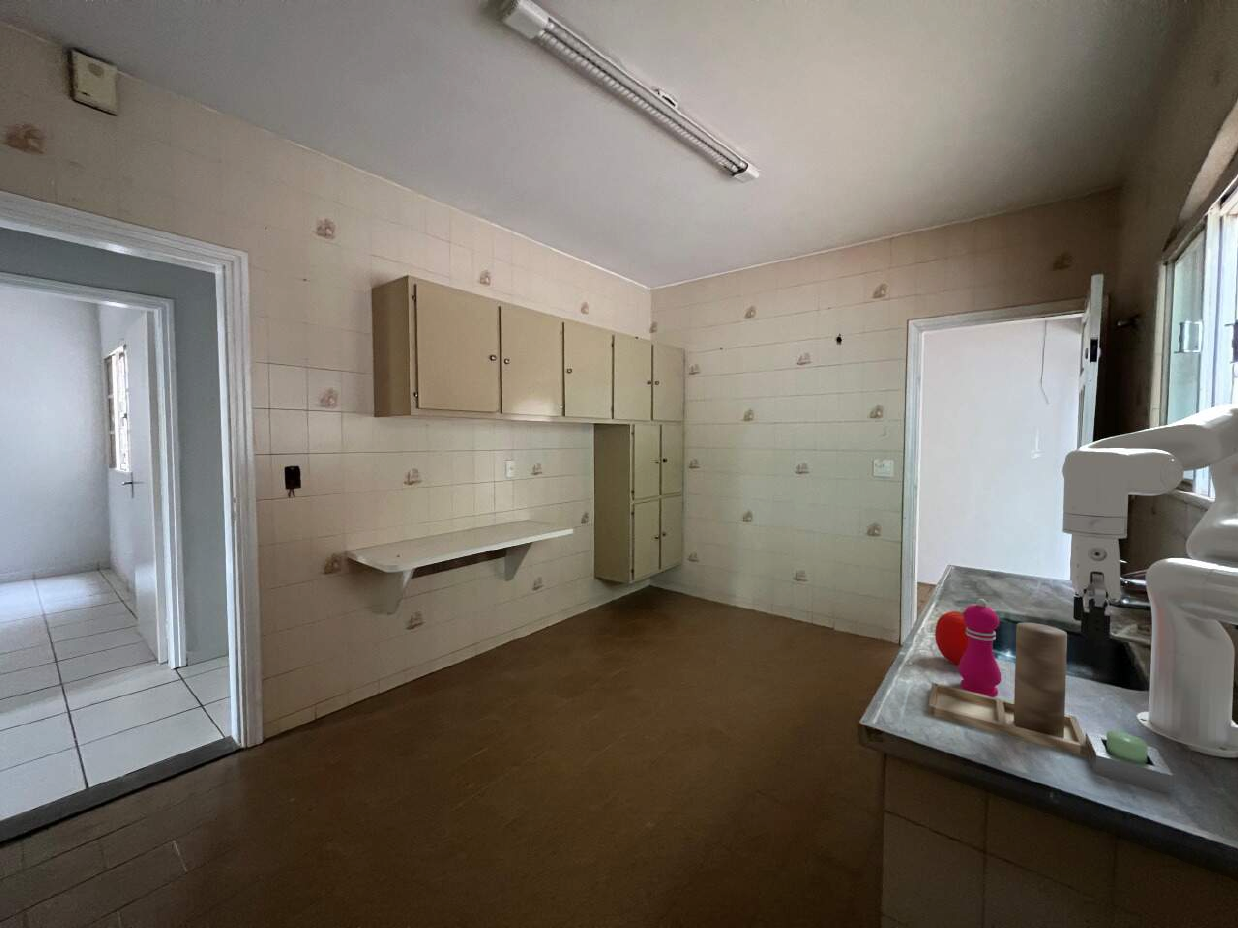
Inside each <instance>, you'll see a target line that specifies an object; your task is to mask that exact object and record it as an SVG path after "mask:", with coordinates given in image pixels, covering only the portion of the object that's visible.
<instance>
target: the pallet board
mask: <svg viewBox="0 0 1238 928" xmlns="http://www.w3.org/2000/svg"><path fill="white" fill-rule="evenodd" d="M928 715H931V716H934V717H938V718H941V719H946V720H949V721H952V722H957V723H961V724H964V725H967V726H972V727H974V728H979V729H982V730H986V731H989V732H993V733H998V734H1002V735H1005V736H1008V737H1012V738H1015V739H1020V740H1024V741H1026V742H1031V743H1034V744H1038V745H1042V746H1046V747H1049V748H1053V749H1057V750H1061V751H1064V752H1067V753H1071V754H1074V755H1078V756H1083V757H1085V758H1089V747H1088V744H1087V742H1086V736H1085V735H1084V732H1083V730H1082V728H1081V725H1080V723H1079V721H1078V718H1077V716H1074V715H1069V714H1065V713H1064V737H1063V738H1059V737H1055V736H1051V735H1047V734H1044V733H1040V732H1036V731H1032V730H1028V729H1024V728H1021V727H1017V726H1015V724H1014V701H1011V700H1008V699H1007V700H1006V699H1002V698H998V697H996V696H995V697H990V696H986V695H982V694H978V693H974V692H969V691H966V690H965V689H960V688H957V687H953V686H947V685H943V684H941V683H940V684H939V683H935V682H931V688H930V696H929V702H928Z"/></svg>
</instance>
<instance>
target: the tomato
mask: <svg viewBox="0 0 1238 928" xmlns="http://www.w3.org/2000/svg"><path fill="white" fill-rule="evenodd" d="M963 615H964V611H959V610H952V611H948V612H945V613H944V614H942V615H941V616H940V617H939V618H938V620H937V622H936V626H935V632H934V633H935V635H934V637H935V643H936V645H937V648H938V650H939V652H940V654H941V655H942V656H943V658H945V660H947V662H948V663H951V664H952V665H953V666H956V667H959V663H960V660H961V659H962V657H963V655H964V654H965V652H966V650H967V647H968V635H967V634H966V627H968V625H967V624H966V623H965V621H964V618H963Z"/></svg>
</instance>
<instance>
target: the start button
mask: <svg viewBox="0 0 1238 928" xmlns="http://www.w3.org/2000/svg"><path fill="white" fill-rule="evenodd" d="M1106 736H1107V744H1106V751H1107V753H1108V754H1110V755H1114V756H1118V757H1122V758H1125V759H1129V760H1133V761H1137V762H1141V763H1144V764H1147V753H1148V747H1149V745H1148V743H1147V742H1146V741H1145V740H1143V739H1142V738H1139V737H1137V736H1135V735H1133V734H1131V733H1126V732H1124V731H1117V730H1109V731H1106Z"/></svg>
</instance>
